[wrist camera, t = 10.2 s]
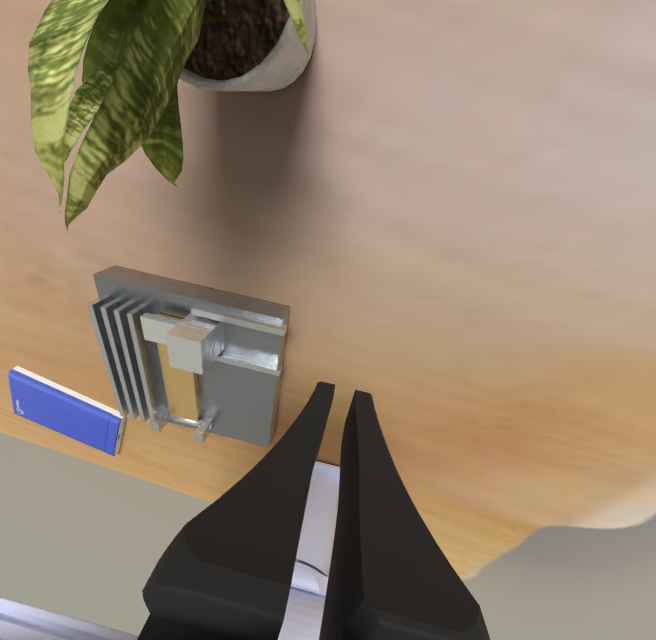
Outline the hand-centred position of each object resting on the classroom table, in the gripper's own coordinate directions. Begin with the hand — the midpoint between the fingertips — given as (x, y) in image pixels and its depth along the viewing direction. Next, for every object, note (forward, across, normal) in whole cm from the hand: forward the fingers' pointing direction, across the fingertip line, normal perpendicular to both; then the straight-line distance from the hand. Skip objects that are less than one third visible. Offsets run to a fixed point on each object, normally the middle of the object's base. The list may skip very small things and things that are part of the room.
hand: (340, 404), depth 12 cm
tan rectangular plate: (+8, +13, +9) cm, 18 cm away
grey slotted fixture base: (+10, +12, +10) cm, 19 cm away
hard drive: (+11, +29, +23) cm, 39 cm away
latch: (+8, +12, +4) cm, 15 cm away
